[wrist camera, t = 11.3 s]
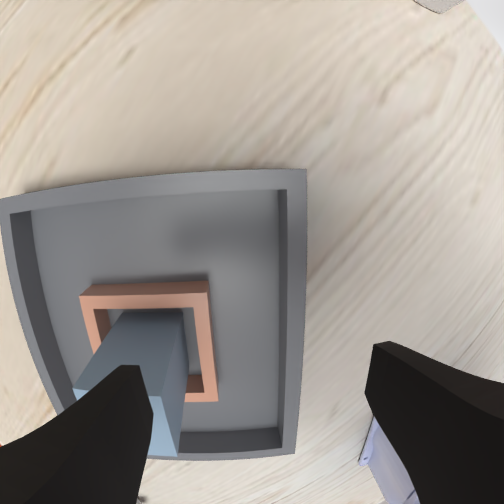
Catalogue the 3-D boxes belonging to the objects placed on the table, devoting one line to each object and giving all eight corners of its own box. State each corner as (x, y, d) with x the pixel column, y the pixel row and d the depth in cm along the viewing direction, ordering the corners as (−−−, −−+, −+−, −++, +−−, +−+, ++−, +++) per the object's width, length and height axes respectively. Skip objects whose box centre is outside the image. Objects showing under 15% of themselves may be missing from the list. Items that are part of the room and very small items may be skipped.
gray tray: (287, 428, 22) (294, 453, 19) (85, 425, 20) (75, 447, 17) (292, 171, 17) (306, 169, 14) (24, 195, 16) (-2, 199, 13)
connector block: (189, 365, 19) (177, 456, 11) (133, 364, 18) (99, 448, 11) (182, 312, 18) (160, 396, 10) (122, 312, 18) (72, 388, 10)
